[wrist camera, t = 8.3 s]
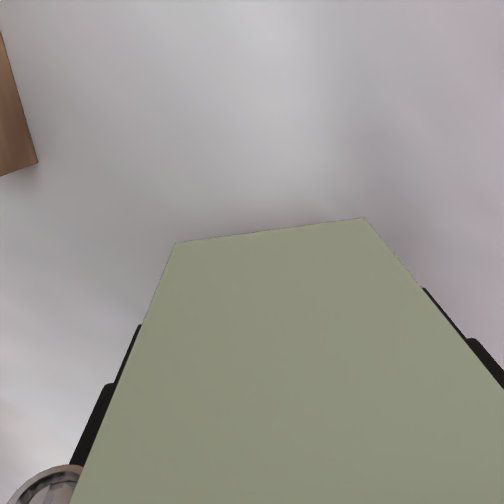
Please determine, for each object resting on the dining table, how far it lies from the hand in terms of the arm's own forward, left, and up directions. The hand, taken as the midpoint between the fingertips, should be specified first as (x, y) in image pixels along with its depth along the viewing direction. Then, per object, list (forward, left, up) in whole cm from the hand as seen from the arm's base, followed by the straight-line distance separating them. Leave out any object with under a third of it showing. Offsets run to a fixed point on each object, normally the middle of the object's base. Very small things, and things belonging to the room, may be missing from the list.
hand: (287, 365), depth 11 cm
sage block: (0, 0, -3) cm, 3 cm away
